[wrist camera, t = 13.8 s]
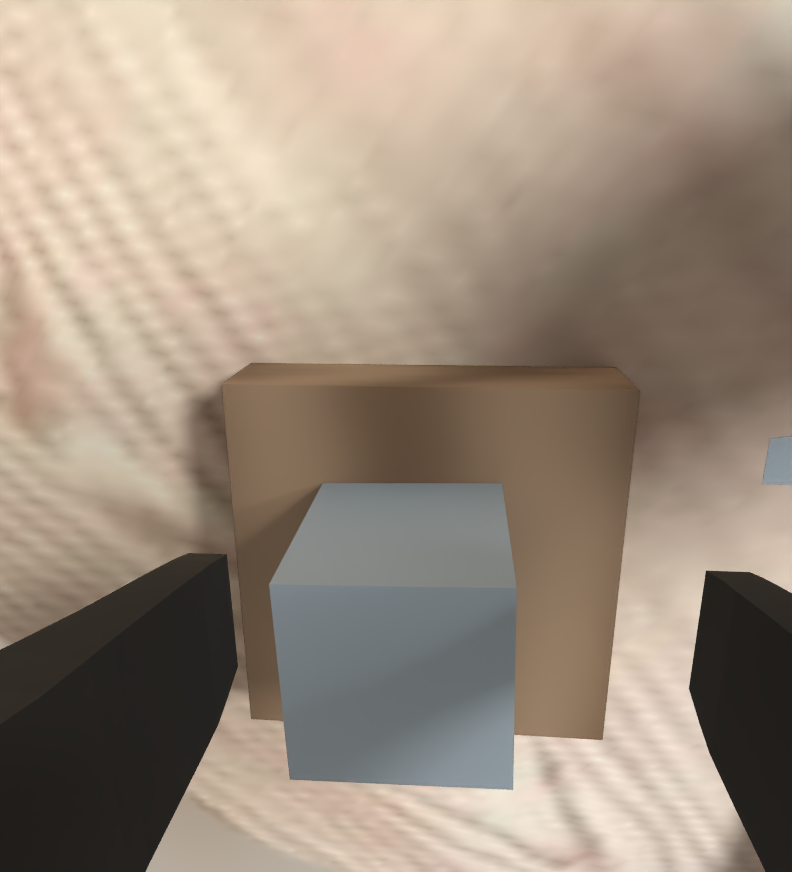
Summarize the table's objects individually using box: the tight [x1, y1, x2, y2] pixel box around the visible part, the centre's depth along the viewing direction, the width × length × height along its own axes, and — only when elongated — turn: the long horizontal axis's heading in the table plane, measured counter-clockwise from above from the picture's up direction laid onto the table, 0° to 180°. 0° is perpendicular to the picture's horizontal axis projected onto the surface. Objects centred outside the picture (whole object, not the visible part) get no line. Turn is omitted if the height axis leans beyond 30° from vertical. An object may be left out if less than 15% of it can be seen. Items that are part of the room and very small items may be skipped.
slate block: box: [269, 483, 517, 790], centre depth 15 cm, size 4×4×5 cm
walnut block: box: [222, 363, 640, 740], centre depth 19 cm, size 10×10×3 cm
